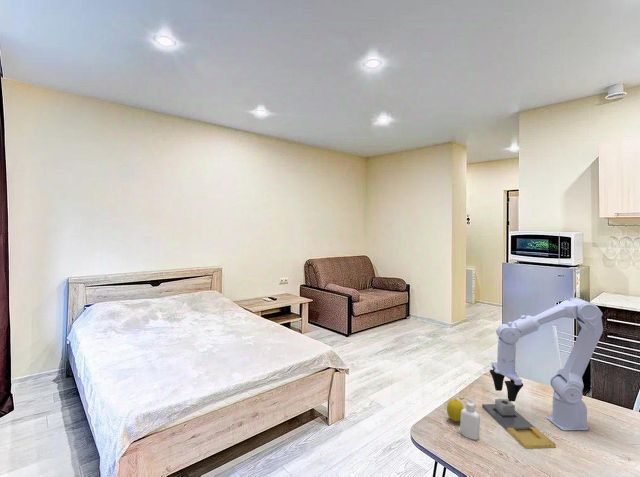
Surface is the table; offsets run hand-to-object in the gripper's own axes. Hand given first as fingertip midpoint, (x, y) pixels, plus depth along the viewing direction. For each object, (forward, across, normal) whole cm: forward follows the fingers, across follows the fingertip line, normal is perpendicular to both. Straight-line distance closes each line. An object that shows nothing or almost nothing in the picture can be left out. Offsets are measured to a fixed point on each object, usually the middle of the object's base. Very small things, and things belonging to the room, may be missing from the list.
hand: (504, 395), depth 121 cm
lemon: (+8, +3, -20) cm, 22 cm away
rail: (+7, +6, 0) cm, 10 cm away
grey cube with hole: (+8, 0, 0) cm, 8 cm away
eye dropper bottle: (+8, +11, -19) cm, 23 cm away
